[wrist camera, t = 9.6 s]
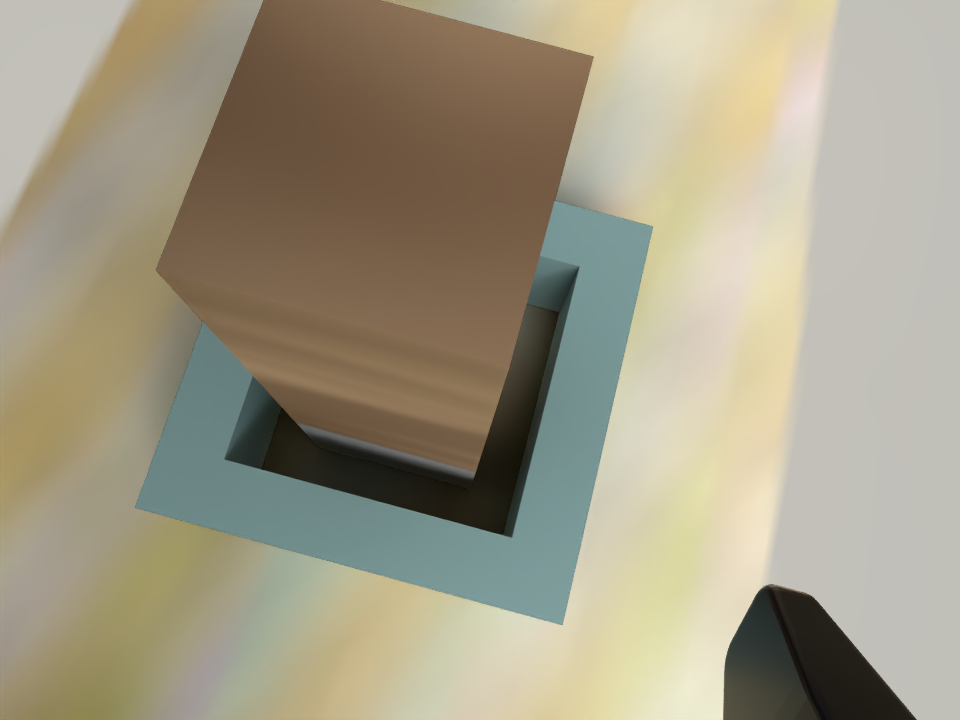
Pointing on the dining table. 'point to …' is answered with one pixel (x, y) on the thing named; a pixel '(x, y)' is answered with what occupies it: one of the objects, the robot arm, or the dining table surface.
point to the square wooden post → (378, 221)
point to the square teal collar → (405, 533)
